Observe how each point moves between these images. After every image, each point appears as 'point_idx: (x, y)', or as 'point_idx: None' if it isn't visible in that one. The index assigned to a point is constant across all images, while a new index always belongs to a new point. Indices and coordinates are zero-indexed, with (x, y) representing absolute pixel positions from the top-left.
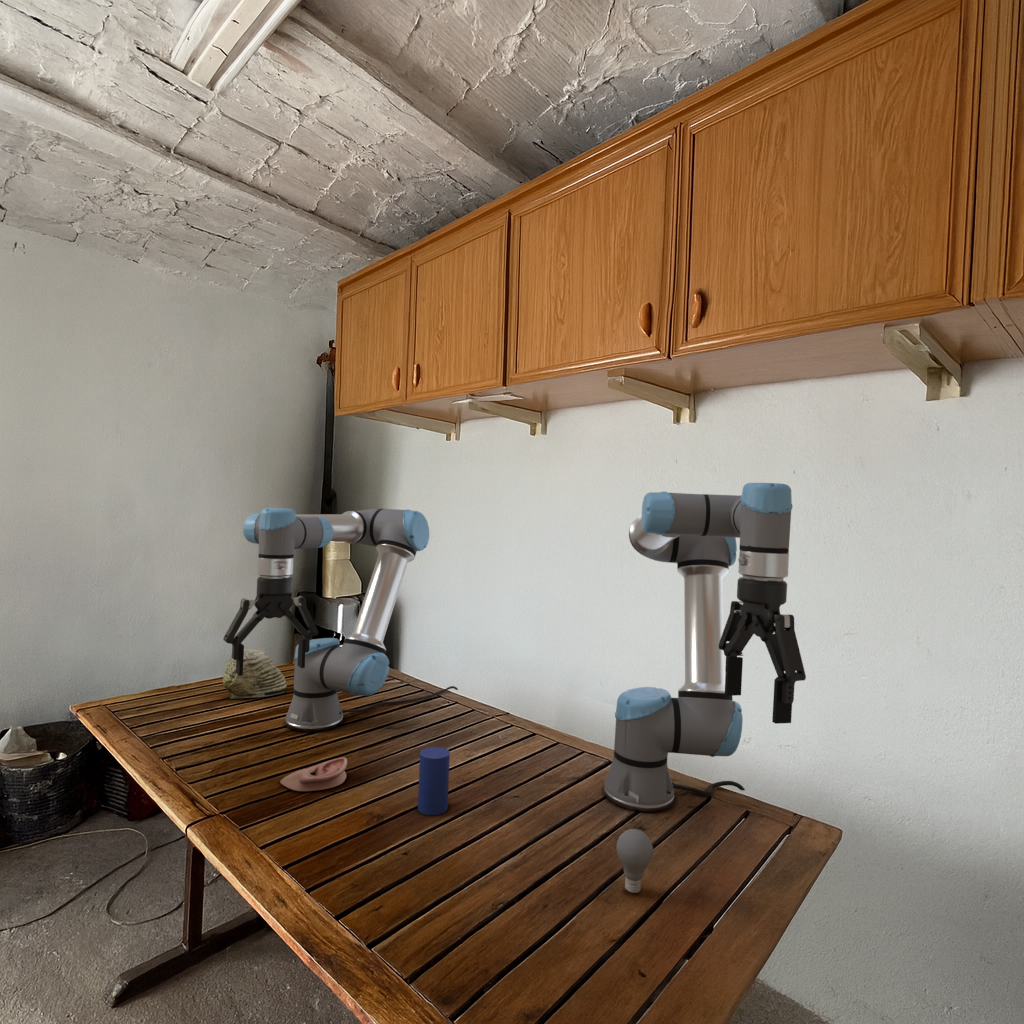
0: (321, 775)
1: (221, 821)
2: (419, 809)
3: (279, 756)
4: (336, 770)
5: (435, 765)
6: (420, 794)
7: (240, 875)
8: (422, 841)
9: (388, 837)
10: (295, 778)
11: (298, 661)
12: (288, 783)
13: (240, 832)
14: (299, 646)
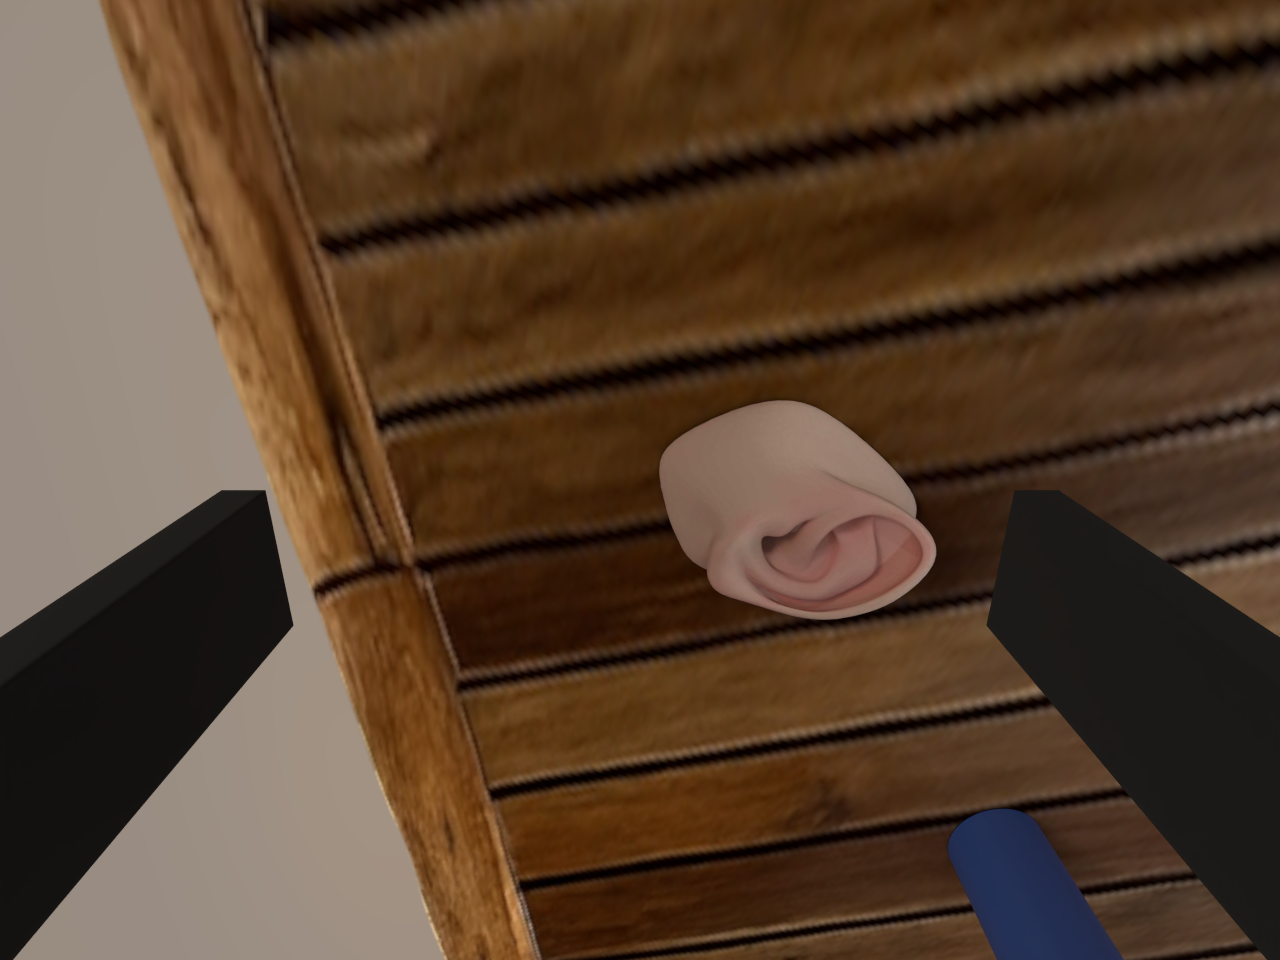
0: (788, 590)
1: (413, 617)
2: (951, 847)
3: (762, 149)
4: (860, 579)
5: None
6: (971, 892)
7: (423, 867)
8: (856, 944)
9: (797, 897)
10: (706, 517)
11: (1040, 551)
12: (676, 511)
13: (456, 702)
14: (1203, 710)
